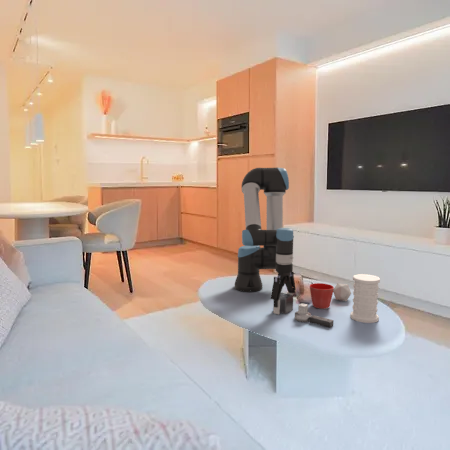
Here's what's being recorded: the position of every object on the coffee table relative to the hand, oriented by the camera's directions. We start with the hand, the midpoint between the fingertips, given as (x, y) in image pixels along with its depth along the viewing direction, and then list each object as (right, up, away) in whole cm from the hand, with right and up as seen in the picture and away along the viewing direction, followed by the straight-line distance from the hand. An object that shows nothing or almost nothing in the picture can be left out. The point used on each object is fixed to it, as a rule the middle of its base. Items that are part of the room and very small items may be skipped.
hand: (283, 310), depth 176 cm
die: (+31, +2, +15) cm, 34 cm away
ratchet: (+11, -2, -13) cm, 17 cm away
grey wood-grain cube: (0, 0, 0) cm, 0 cm away
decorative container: (+34, -2, -9) cm, 35 cm away
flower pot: (+19, 0, +6) cm, 20 cm away
